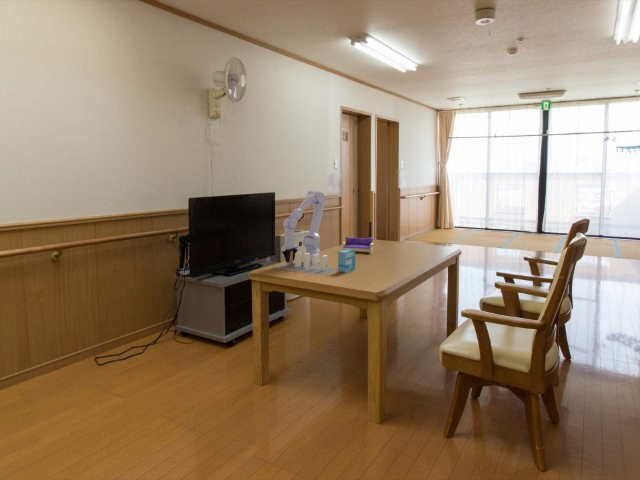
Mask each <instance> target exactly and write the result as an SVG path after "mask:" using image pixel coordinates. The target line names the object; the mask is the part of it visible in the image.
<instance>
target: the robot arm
mask: <svg viewBox="0 0 640 480" xmlns="http://www.w3.org/2000/svg"><path fill="white" fill-rule="evenodd" d="M325 199H326V196H325V193H324V192H323V191H322V190H319V191H317V190H308V191H307V193H306V194H305V198H304V199H303V201H302V202H301V203H300V205H299V207H298V208H294V209H293V210H292V212H291V213H290V215H289V216H288V217H287V218H285V219H284V220H283V222H282V226H283V229H284V245H283V246H282V247H280V251H281V253H282V254H283V256H284V261H285V262H286V263H287V262H289V261H290V254H291V251H293V262H295V253H297V252H299V251H298V250H299V249H298V248H299V244H295V243H296V242H295V239H296V238H295V228H296V227H297V226H298V225H297V224H298V221H299V220H301V217H303V213H304V211H305V210H306V209H307V208H308V207H309V206H310V205H311V204H312V205H313V207H314V210H313V215H312V218H311V221H310V222H311V223H310V227H309V230H308V232H307V233H306V234H305V237H304V238H303V240H302V244H303V246H304V248H305V254H306V253H310V265H311V264H312V255H315V254H319V263H321V250H320V248H319V247H320V245H321V236H320V235H319V230H320V226H321V222H322V217H323V212H324V209H325Z"/></svg>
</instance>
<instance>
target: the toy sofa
mask: <svg viewBox="0 0 640 480" xmlns="http://www.w3.org/2000/svg"><path fill="white" fill-rule="evenodd" d="M344 238H345V241H344V242H342V243H341V245H342V251H343V250H346V249H352V250H355V252H369V254H372V253H374V244H375V243H374V242H373V240H374V239H373V237H365V238H362V237H351V236H346V237H344Z"/></svg>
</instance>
